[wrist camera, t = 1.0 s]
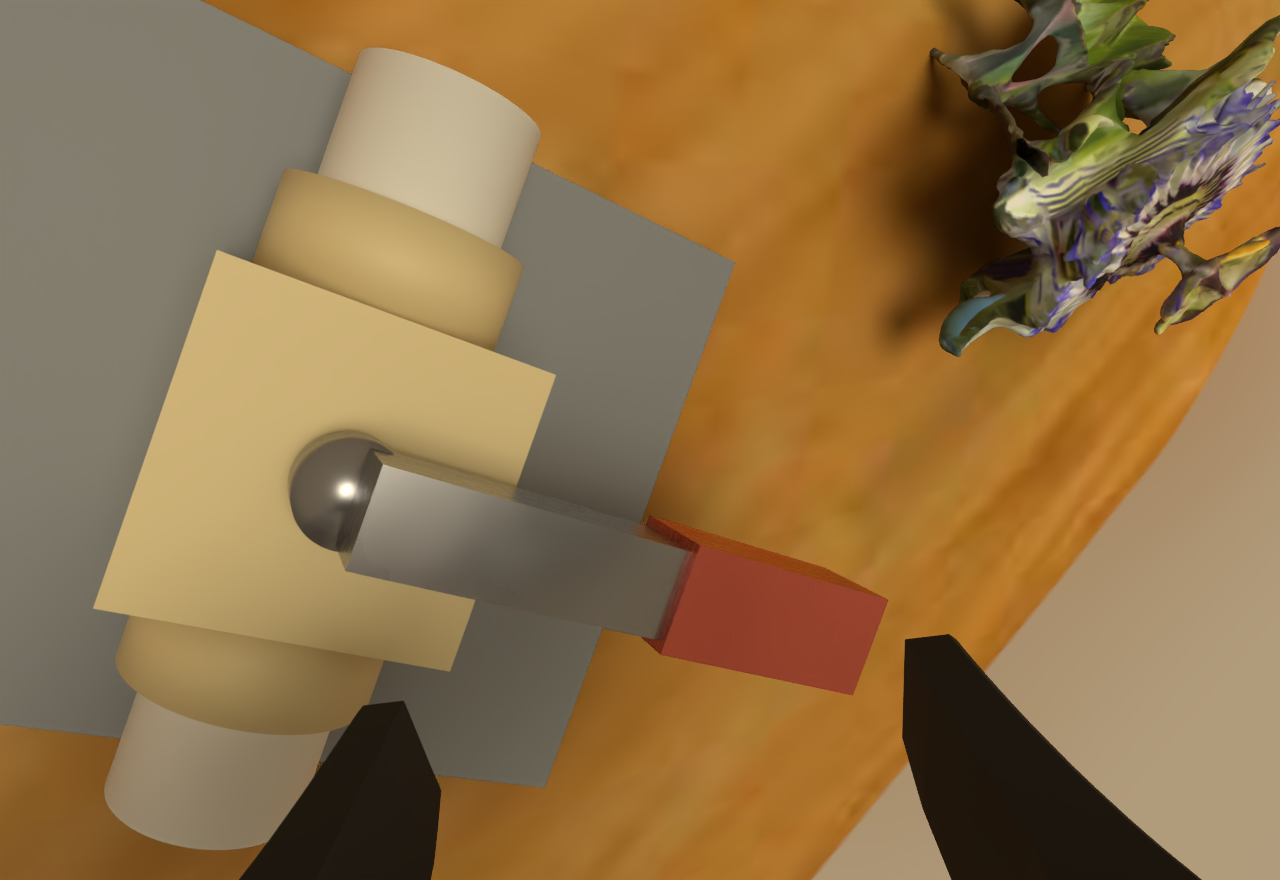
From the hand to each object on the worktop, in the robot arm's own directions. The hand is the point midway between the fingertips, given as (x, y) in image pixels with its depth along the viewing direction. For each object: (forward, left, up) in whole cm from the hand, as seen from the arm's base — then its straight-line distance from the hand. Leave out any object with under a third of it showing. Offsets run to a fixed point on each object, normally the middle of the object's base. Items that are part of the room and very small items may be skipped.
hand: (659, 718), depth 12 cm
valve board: (+1, +4, -12) cm, 13 cm away
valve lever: (+1, -1, -6) cm, 6 cm away
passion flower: (+16, -13, -13) cm, 24 cm away
